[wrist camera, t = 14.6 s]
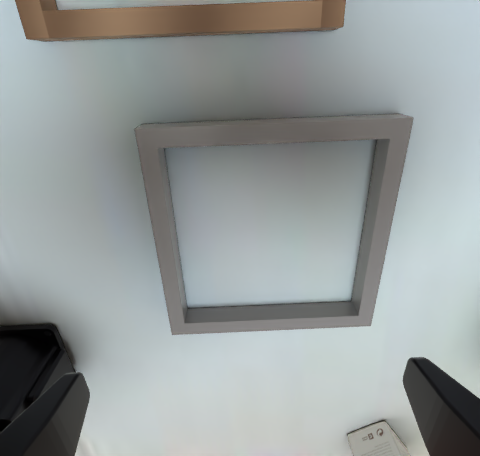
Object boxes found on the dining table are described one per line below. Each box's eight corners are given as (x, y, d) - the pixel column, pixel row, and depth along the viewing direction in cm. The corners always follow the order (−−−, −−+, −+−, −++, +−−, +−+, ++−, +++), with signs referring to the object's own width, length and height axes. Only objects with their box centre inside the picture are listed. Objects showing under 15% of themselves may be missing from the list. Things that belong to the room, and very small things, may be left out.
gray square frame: (175, 319, 24) (171, 334, 22) (141, 124, 17) (134, 129, 16) (362, 311, 24) (370, 326, 22) (399, 113, 17) (413, 117, 16)
